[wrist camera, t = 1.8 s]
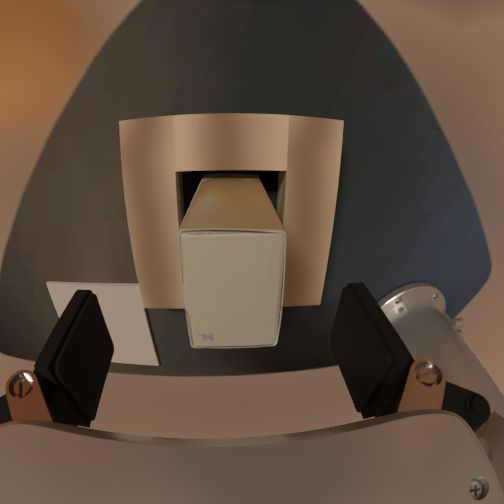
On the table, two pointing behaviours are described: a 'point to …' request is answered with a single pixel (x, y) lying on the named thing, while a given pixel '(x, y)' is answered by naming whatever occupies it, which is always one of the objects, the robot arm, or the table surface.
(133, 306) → the mat
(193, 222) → the skincare box
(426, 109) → the table surface
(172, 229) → the holder
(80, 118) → the table surface
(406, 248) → the table surface
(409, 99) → the table surface
